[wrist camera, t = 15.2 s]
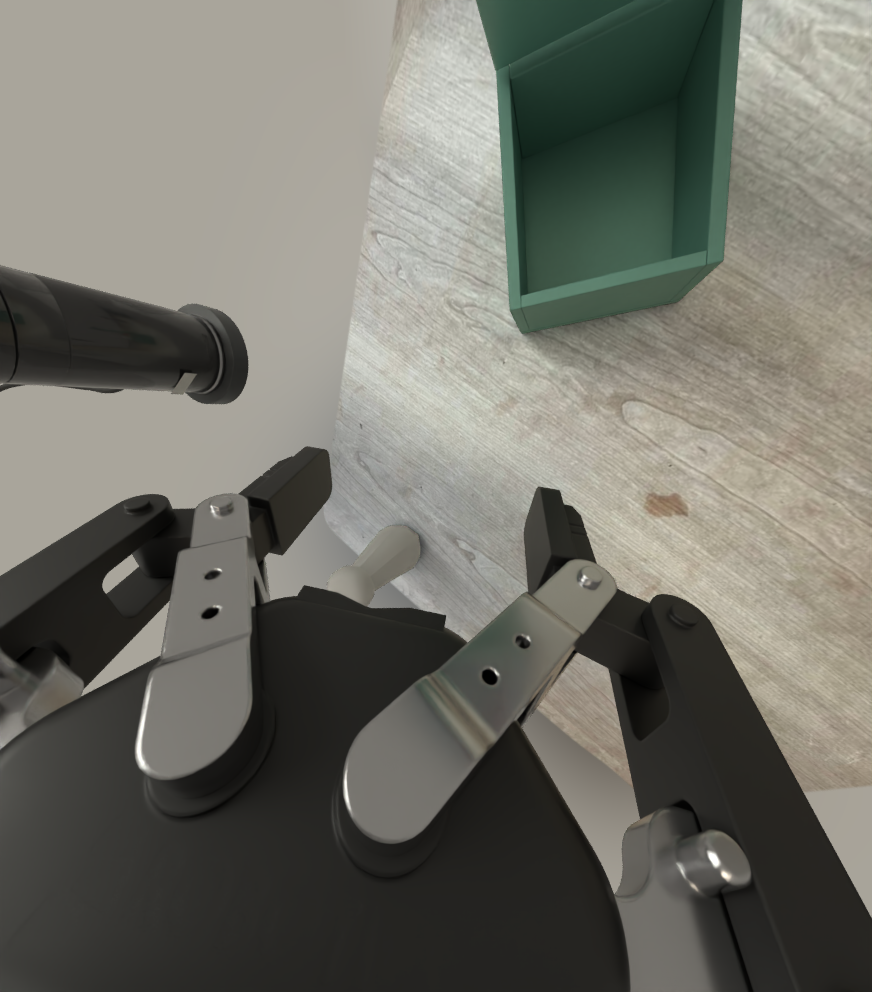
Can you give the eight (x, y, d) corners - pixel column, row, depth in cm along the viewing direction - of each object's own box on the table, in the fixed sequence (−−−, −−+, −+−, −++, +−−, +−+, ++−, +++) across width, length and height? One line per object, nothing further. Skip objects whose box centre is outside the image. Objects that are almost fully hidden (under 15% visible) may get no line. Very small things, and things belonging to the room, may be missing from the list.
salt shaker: (378, 525, 41) (305, 572, 29) (417, 514, 38) (354, 560, 27) (395, 566, 41) (329, 629, 30) (433, 558, 39) (379, 623, 27)
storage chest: (678, 302, 25) (724, 260, 18) (521, 334, 30) (509, 310, 23) (688, 88, 22) (747, -59, 15) (512, 158, 27) (495, 69, 20)
